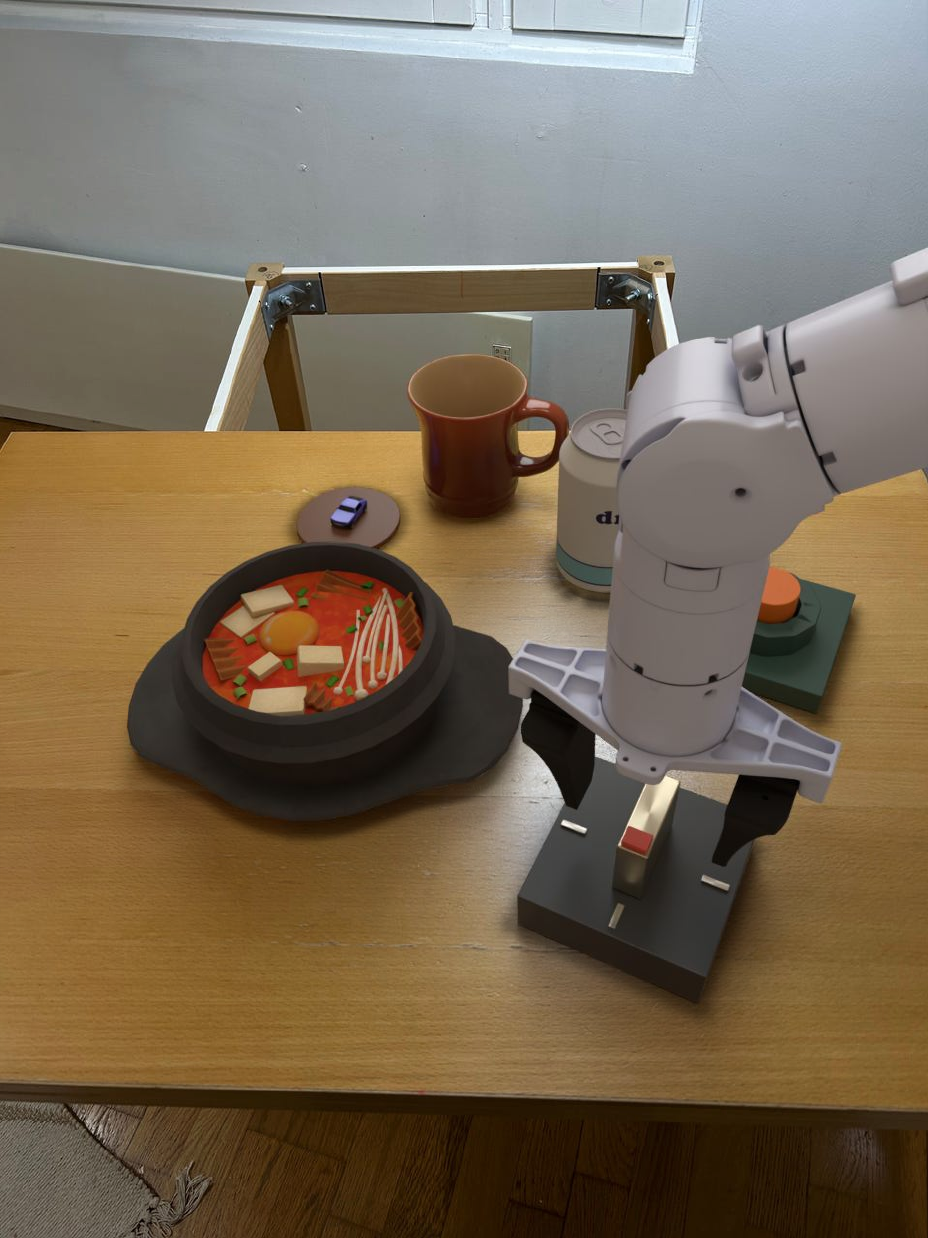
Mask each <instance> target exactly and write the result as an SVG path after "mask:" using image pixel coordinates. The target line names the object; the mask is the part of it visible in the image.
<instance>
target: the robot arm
mask: <svg viewBox="0 0 928 1238" xmlns="http://www.w3.org/2000/svg"><path fill="white" fill-rule="evenodd" d="M889 272H890V276H891V280H890V281H887V282H884V283H882V284H880V285H876V286H875V287H872V288H870V289H868V290H864V291H863V292H860V293H857V294H855V295H853V296H851V297H847V298H846V299H843V300H841V301H838V302H836V303H834V304H831V305H828V306H826V307H823V308H821V309H819V310H815V311H813V312H811V313H809V314H807V315H806V314H805V315H804V316H801V317H799V318H796V319H794V320H791V321H789V322H788V323H785V324H782V325H780V326H776V327H774V328H772V329H770V330H767V331H766V329H765V327H764V326H763V325H762V324H757V325H754V326H753V327H750V328H747V329H745V330H743V331H740V332H738V333H736V334H734V335H733V336H732V338H731V337H727V338H716V337H715V336H707V337H700V338H695V339H694V338H693V339H689V340H687V341H684V342H680V343H678V344H676V345H674V346H671V347H669V348H667V349H665V350H664V351H662V352H661V353H660V354H658V355H657V356H655V357H654V358H652V360H651V361H650V362H649V363H648V364H647V365H646V367H645V372H644V373H643V374H641V373H639V375H638V376H637V378H636V380H635V382H634V384H633V387H632V389H631V390H630V391H628V392H627V394H626V396H625V398H626V399H625V408H626V409H625V410H626V411H627V419H626V425H625V431H624V437H623V443H622V449H621V455H620V461H619V467H618V473H617V484H616V489H617V509H618V513H619V527H620V530H619V532H618V535H617V538H616V541H615V545H614V558H613V571H612V582H611V592H610V595H609V606H608V618H607V632H606V633H607V635H606V646H605V648H591V647H573V646H559V645H552V644H546V643H541V642H537V641H534V640H530V639H525V640H523V642H522V644H521V646H520V647H519V648H518V650H517V652H516V654H514V657H513V660H512V662H511V663H510V665H509V667H508V673H509V694H511V695H514V696H517V697H520V698H523V700H530V703H529V704H528V710H527V712H526V714H525V715H524V717H523V718H522V720H521V723H520V737H521V742H522V743H523V744H524V745H526V746H527V747H529V748H530V749H531V750H532V751H533V752H535V754H537V756H538V757H539V758H540V759H541V760H542V762H543V764H545V765H546V767H547V768H548V770H549V771H550V773H551V775H552V776H553V779H554V780H555V782H556V784H557V787H558V789H559V792H560V794H561V796H562V799H563V801H564V803H565V804H566V806H567V807H570V808H573V809H575V810H577V809H578V807H579V805H580V803H581V801H582V799H583V797H584V795H585V793H586V791H587V789H588V787H589V785H590V783H591V781H592V777H593V772H594V766H595V756H596V736H598V737H599V738H600V739H602V740H603V741H604V742H606V743H607V744H608V745H610V746H611V747H612V748H614V749H615V750H617V752H616V754H615V762H614V763H615V768H616V770H617V772H618V773H620V774H621V775H623V776H626V777H629V778H631V779H634V780H637V781H640V782H642V783H645V784H648V785H657V784H660V783H661V781H662V780H663V779H664V777H665V776H666V775H667V773H668V772H670V771H680V772H682V771H683V772H695V773H697V772H698V773H709V774H711V773H712V774H725V775H738V776H737V778H736V781H735V784H734V787H733V789H732V791H731V794H730V798H729V800H728V802H727V804H726V805H727V808H726V811H725V815H724V816H725V818H724V826H723V830H722V832H721V835H720V838H719V840H718V843H717V846H716V848H715V851H714V854H713V857H712V863H714V864H717V865H720V866H722V867H725V866H727V863H728V861H729V860H730V859H731V857H732V856H733V855H734V854H735V853H736V852H737V851H738V850H739V849H741V848H742V847H743V846H744V845H746V844H747V843H749V842H750V841H752V840H754V839H755V840H756V839H758V838H761V837H765V836H775V835H777V834H778V833H779V832H780V831H781V830H782V828H783V827H784V826H785V825H786V823H787V822H788V820H789V818H790V814H791V812H792V808H793V806H794V802H795V799H796V796H797V793H798V795H799V796H800V797H801V798H803V799H806V800H809V801H813V802H815V803H817V804H823V803H824V802H825V798H826V796H827V793H828V791H829V787H830V785H831V782H832V780H833V777H834V774H835V771H836V767H837V763H838V761H839V757H840V755H841V750H842V747H843V743H842V742H840V741H837V740H835V739H833V738H830V737H827V736H824V735H822V734H820V733H817V732H816V731H813V730H812V729H809V728H808V727H806V726H804V725H802V724H801V723H799V722H798V721H795V719H793V718H791V717H790V716H788V715H786V714H785V713H783V712H782V711H781V710H779V709H777V708H776V707H774V706H773V705H771V704H770V703H768V702H766V701H765V700H763V699H762V698H760V697H758V696H757V695H756V694H754V693H751V692H749V691H748V690H746V689H745V688H743V687H742V683H743V678H744V674H745V670H746V666H747V661H748V657H749V653H750V648H751V643H752V639H753V635H754V631H755V626H756V622H757V618H758V614H759V609H760V605H761V601H762V597H763V592H764V588H765V584H766V580H767V576H768V571H769V567H771V554H773V553H774V552H775V551H777V550H778V549H779V548H780V547H782V546H783V544H785V543H786V542H787V540H788V539H789V538H790V537H791V536H792V535H793V534H794V532H795V530H796V529H797V527H798V526H799V525H800V524H801V523H802V522H803V521H804V520H805V519H807V518H809V517H811V516H813V515H817V514H820V513H823V512H825V511H826V509H825V507H826V505H828V504H831V503H833V502H834V497H837V496H840V495H842V494H847V493H850V492H853V491H856V490H858V489H862V488H866V487H869V486H872V485H875V484H879V483H881V482H885V481H888V480H892V479H894V478H897V477H900V476H901V477H902V476H904V475H907V474H910V473H914V472H918V471H920V470H924V469H927V468H928V247H925V248H923V249H920V250H918V251H916V252H914V253H911V254H908V255H906V256H904V257H901V258H898V259H897V260H894V261H892V263H891V264H890V266H889Z"/></svg>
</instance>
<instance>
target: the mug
mask: <svg viewBox="0 0 928 1238" xmlns="http://www.w3.org/2000/svg"><path fill="white" fill-rule="evenodd" d="M528 389H529V381H528V378H527V377H526V375H525V373H524V372H523V371H522V370H521V369H520V368H519V367H518V366H517V365H515V364H514V363H512V362H511V361H509V360H507V359H503V358H501V357H497V356H493V355H489V354H483V353H482V354H481V353H460V354H453V355H448V356H444V357H439V358H437V359H434V360H431V361H430V362H428V363H426V364H424V365H422V366H421V367H419V368H418V369H417V370H416V371H415V372H414V373H413V374H412V375H411V376H410V378H409V380H408V382H407V386H406V395H407V397H408V398H407V399H408V400H409V403H410V405H411V407H412V409H413V412H414V413H415V416H416V418H417V421H418V424H419V428H420V436H421V459H422V469H423V470H422V479H423V482H424V487H425V491H426V494H427V496H428V499H429V501H430V502H431V504H432V505H433V506H434V507H435V508H436V509H437V510H438V511H440V512H441V513H443V514H445V515H447V516H450V517H452V518H456V519H462V520H480V519H484V518H485V519H486V518H488V517H491V516H494V515H496V514H498V513H500V512H502V511H504V510H505V509H506V508H507V507H508V506H509V505H510V504H511V503H512V501H513V500H514V498H515V496H516V493H517V492H516V491H517V488H518V484H519V479H520V478H527V477H532V476H536V475H540V474H543V473H545V472H548V471H550V470H552V469H553V468H554V467H555V466H556V465H557V464H558V463H559V452H560V448H561V446H562V444H563V442H564V441H565V439H566V438H567V437H568V435H569V434H570V420H569V417H568V415H567V413H566V411H565V409H563V407H561V406H560V405H558V404H557V403H554V402H552V401H549V400H545V399H541V398H538V397H531V396H529V395H528ZM530 418H542V419H546V420H548V421H550V422H551V423H552V424H553V426H554V430H555V431H554V432H555V434H554V442H553V446H552V449H551V451H550V452H548V453H547V454H545V455H542V456H529V455H527V454H523V453H522V451H521V450H520V443H519V432H518V430H519V427H518V425H519V423H520V422H522V421H525V420H527V419H530Z"/></svg>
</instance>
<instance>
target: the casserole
mask: <svg viewBox="0 0 928 1238" xmlns="http://www.w3.org/2000/svg"><path fill="white" fill-rule="evenodd" d="M513 659H514V657H513V655H512V654H511V653H510V651H509V649H508V647H506V646H505V645H504V644H502V643H501V642H499V641H498V640H497V639H496V638H495V637H493V636H492V635H488V634H485V633H481V632H478V631H475V630H471V629H468V628H465V627H462V626H458V625H454V623H453V619H452V615H451V613H450V611H449V610H448V608H447V606H446V604H445V602H444V601H443V599H442V598H441V597H440V596H439V594H438V593H437V592H436V591H435V590H434V589H433V588H432V587H431V586H430V585H429V584H428V583H427V582H426V581H424V579H423V578H422V577H421V576H420V575H419V574H418V573H417V572H416V571H415V569H413V568H412V567H411V566H410V565H408V564H406V563H405V562H404V561H402V560H401V559H399V558H398V557H397V556H395V555H392V554H390V553H387V552H386V551H383V550H380V549H378V548H377V549H375V548H372V547H368V546H364V545H360V544H355V543H345V542H336V541H331V542H309V543H303V542H302V543H297V544H290V545H286V546H283V547H279V548H275V549H272V550H269V551H266V552H263V553H261V554H258V555H257V556H253V557H252V558H250V559H248V560H245V561H243V562H242V563H240V564H238V565H237V566H235V567H234V568H232V569H230V570H228V571H227V572H226V573H224V574H223V575H222V576H220V577H219V578H218V579H217V580H216V581H215V582H213V583H212V584H210V585H209V587H208V588H207V589H206V590H205V591H204V593H203V594H202V595H201V596H200V597H199V598H198V600H197V601H196V602H195V604H194V606H193V608H192V609H191V610H190V613H189V615H188V616H187V618H186V621H185V624H184V627H183V628H182V629H181V630H179V631H178V632H177V633H176V634H174V636H172V637H171V638H170V639H169V640H167V641H166V642H165V643H164V644H163V645H161V647H160V648H159V649H158V651H157V652H156V653H155V654H154V655H153V656H152V658H151V659H150V660H149V661H148V662H147V664H146V665H145V667H144V669H143V671H142V672H141V674H140V675H139V678H138V679H137V681H136V682H135V685H134V688H133V691H132V694H131V698H130V701H129V704H128V709H127V722H126V729H127V730H126V731H127V734H128V739H129V743H130V744H129V745H130V746H131V747H132V748H133V750H134V751H135V753H136V754H138V756H140V758H141V759H142V760H144V761H147V762H148V763H151V764H152V765H153V764H154V765H156V766H158V767H161V768H163V769H165V770H168V771H171V772H173V773H176V774H179V775H183V776H185V777H188V778H190V779H192V780H193V781H195V782H196V783H198V784H199V785H201V786H202V787H204V788H205V789H207V790H208V791H209V792H212V793H213V794H215V795H216V796H218V797H219V798H221V799H222V800H224V801H225V802H227V803H229V804H230V805H232V806H233V807H236V808H239V809H241V810H244V811H247V812H249V813H252V814H256V815H258V816H262V817H267V818H272V819H273V818H274V819H279V820H285V821H324V820H325V821H327V820H331V819H337V818H342V817H347V816H353V815H356V814H359V813H363V812H365V811H368V810H371V809H373V808H376V807H379V806H381V805H384V804H387V803H390V802H393V801H395V800H398V799H400V798H403V797H406V796H409V795H411V794H414V793H418V792H423V791H429V790H433V789H438V788H443V787H449V786H453V785H458V784H463V783H468V782H472V781H473V782H474V781H476V780H477V779H478V778H480V777H481V776H483V775H485V774H486V773H488V772H490V771H491V770H493V769H494V768H495V767H496V766H497V764H498V763H499V762H500V761H501V760H502V758H503V757H504V756H505V755H506V753H508V751H509V749H510V747H511V745H512V743H513V740H514V738H515V736H516V734H517V732H518V730H519V726H520V722H521V717H522V712H523V708H524V699H523V698H520V697H517V696H514V695H511V694H509V673H508V667H509V665H510V663H511V662H512V660H513Z"/></svg>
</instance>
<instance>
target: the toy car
mask: <svg viewBox="0 0 928 1238" xmlns="http://www.w3.org/2000/svg"><path fill="white" fill-rule="evenodd" d="M400 523H401V512H400V508H399V506H398V503H397V502H396V501H395V500H394V499H393V498H392V497H391V496H390V495H388V494H386V493H384V492H382V491H380V490H378V489H377V490H376V489H374V488H369V487H362V486H345V487H339V488H335V489H331V490H328V491H326V492H323V493H321V494H319V495H317V496H316V497H314V498H313V499H311V500H310V501H309V502H307V504H306V505H305V506H304V507H303V508H302V510H300V512H299V514H298V517H297V519H296V531H297V535H298V537H299V539H300V541H301V542H302V543H309V542H331V541H336V542H345V543H355V544H360V545H364V546H368V547H372V548H375V549H378V548H380V547H383V545H385V544H387V543H388V542H389V541H390V540H391V539H392V538H393V537H394V535H395V534H396V533H397V531H398V529H399V527H400Z"/></svg>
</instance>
